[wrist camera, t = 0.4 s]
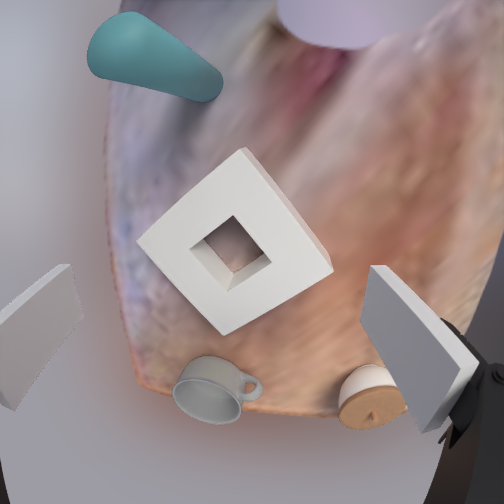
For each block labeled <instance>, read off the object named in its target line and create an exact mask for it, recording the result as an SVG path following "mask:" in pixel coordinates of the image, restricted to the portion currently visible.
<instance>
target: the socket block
mask: <svg viewBox="0 0 504 504" xmlns="http://www.w3.org/2000/svg"><path fill="white" fill-rule="evenodd" d="M232 215H234V216H235V218H236V219H237V220H238V221H239V223H240V224H241V225H242V226H243V227H244V229H245V230H246V231H247V232H248V233H249V235H250V236H251V237H252V238H253V240H254V241H255V242H256V243H257V244H258V246H259V247H260V248H261V249H262V251H263V252H264V254H263V255H261V256H260V257H258V258H257V259H255V260H254V261H252V262H251V263H249V264H248V265H246V266H245V267H244V268H242V269H241V270H239V271H238V272H236V273H235V274H233V273H232V271H231V270H230V269H229V268H228V267H227V266H226V265H225V263H224V262H223V261H222V260H221V259H220V258H219V257H218V255H217V254H216V253H215V252H214V251H213V250H212V248H211V247H210V246H209V245H208V244H207V243H206V241H205V240H204V239H203V238H204V237H205V236H207V235H208V234H209V233H211V232H212V231H213V230H214V229H216V228H217V227H218V226H219V225H221V224H222V223H223V222H225V221H226V220H227V219H229V218H230V217H231V216H232ZM136 242H137V243H138V244H139V246H140V247H141V248H142V249H143V250H144V251H145V253H146V254H147V255H148V256H149V257H150V258H151V260H152V261H153V262H154V263H155V264H156V265H157V266H158V268H159V269H160V270H161V271H162V272H163V273H164V274H165V275H166V276H167V278H168V279H169V280H170V281H171V282H172V283H173V284H174V285H175V286H176V287H177V288H178V290H179V291H180V292H181V293H182V294H183V295H184V296H185V297H186V298H187V299H188V300H189V301H190V302H191V303H192V304H193V306H194V307H195V308H196V309H197V310H198V311H199V312H200V313H201V314H202V315H203V316H204V317H205V318H206V319H207V320H208V321H209V322H210V323H211V324H212V325H213V326H214V327H215V328H216V329H217V330H218V331H219V332H220V333H221V334H222V335H223V336H225V335H227V334H228V333H230V332H232V331H234V330H236V329H238V328H239V327H241V326H243V325H245V324H247V323H248V322H250V321H252V320H254V319H255V318H257V317H259V316H261V315H262V314H264V313H266V312H268V311H269V310H271V309H273V308H275V307H276V306H278V305H280V304H281V303H283V302H285V301H287V300H288V299H290V298H292V297H293V296H295V295H297V294H298V293H300V292H302V291H303V290H305V289H307V288H308V287H310V286H311V285H313V284H315V283H316V282H318V281H320V280H321V279H323V278H324V277H326V276H328V275H329V274H331V273H332V272H334V271H333V267H332V264H331V260H330V257H329V254H328V253H327V251H326V250H325V249H324V247H323V246H322V244H321V243H320V242H319V240H318V239H317V237H316V236H315V235H314V233H313V232H312V231H311V229H310V228H309V226H308V225H307V224H306V222H305V221H304V220H303V218H302V217H301V216H300V214H299V213H298V212H297V210H296V209H295V208H294V206H293V205H292V204H291V202H290V201H289V200H288V199H287V197H286V196H285V195H284V193H283V192H282V191H281V189H280V188H279V187H278V186H277V184H276V183H275V182H274V180H273V179H272V178H271V177H270V175H269V174H268V173H267V172H266V170H265V169H264V168H263V167H262V165H261V164H260V163H259V162H258V160H257V159H256V158H255V157H254V155H253V154H252V153H251V152H250V151H249V149H248V148H247V147H244V148H241V149H239V150H238V151H236V152H235V153H234V154H233V155H231V156H230V157H229V158H228V159H226V160H225V161H224V162H223V163H222V164H220V165H219V166H218V167H217V168H216V169H214V170H213V171H212V172H211V173H210V174H208V175H207V176H206V177H205V178H204V179H203V180H201V181H200V182H199V183H198V184H197V185H196V186H195V187H193V188H192V189H191V190H190V191H189V192H188V193H187V194H186V195H184V196H183V197H182V198H181V199H180V200H179V201H178V202H177V203H176V204H174V205H173V206H172V207H171V208H170V209H169V210H168V211H167V212H166V213H165V214H164V215H163V216H161V217H160V218H159V219H158V220H157V221H156V222H155V223H154V224H153V225H152V226H151V227H150V228H149V229H148V230H147V231H146V232H145V233H144V234H143V235H142V236H141V237H140V238H139V239H138V240H137V241H136Z"/></svg>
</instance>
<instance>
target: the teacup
mask: <svg viewBox="0 0 504 504" xmlns="http://www.w3.org/2000/svg"><path fill="white" fill-rule="evenodd" d="M246 382H249V383H252V384H254V385H256V386H255V388H254V390H253V391H251V392H250V393H245V391H246ZM262 392H263V385H262V383H261V382H260V380H259V379H258V378H256V377H254V376H251V375H248V374H247V373H246V372H244V371H240V370H239V369H238V368H237V367H236V366H235V365H234V364H233V363H231V362H229V361H227V360H225V359H223V358H220V357H215V356H202V357H198V358H196V359H194V360H192V361H191V362H190V363H189V364H188V365H187V366H186V367H185V369H184V370H183V372H182V374H181V376H180V377H179V379H178V381H177V383H176V384H175V385H174V387H173V389H172V396H173V399H174V401H175V403H176V405H177V406H178V407H179V408H180V409H181V410H182V411H183V412H185V413H186V414H187V415H189V416H191V417H192V418H194V419H197V420H199V421H202V422H205V423H210V424H218V425H219V424H228V423H231V422H234V421H235V420H237V419H238V418H239V417H240V415H241V413H242V405H243V401H246V402H250V401H254V400H256V399H257V398H259V397H260V396H261V394H262Z"/></svg>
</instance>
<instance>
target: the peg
mask: <svg viewBox="0 0 504 504" xmlns="http://www.w3.org/2000/svg"><path fill="white" fill-rule="evenodd" d="M87 63H88V66H89V68H90V70H91V72H92V73H93V74H94V75H96V76H97V77H99V78H103V79H108V80H113V81H118V82H123V83H128V84H132V85H137V86H141V87H145V88H149V89H153V90H157V91H161V92H165V93H169V94H172V95H176V96H179V97H183V98H186V99H190V100H193V101H196V102H208V101H211V100H213V99H214V98H216V97H217V96H218V95H219V93H220V92H221V90H222V87H223V78H222V75H221V74H220V72H219V71H218V70H217V69H215V68H214V67H213V66H212V65H210V64H209V63H208V62H207V61H205V60H204V59H203V58H202V57H200V56H199V55H198V54H197V53H195V52H194V51H193V50H191V49H190V48H189V47H187V46H186V45H185V44H183V43H182V42H181V41H179V40H178V39H177V38H175V37H174V36H173V35H171V34H170V33H168V32H167V31H166V30H164V29H163V28H161V27H160V26H158V25H157V24H155V23H154V22H152V21H151V20H149V19H148V18H146V17H145V16H143V15H142V14H140V13H137V12H132V11H130V12H123V13H119V14H117V15H115V16H113V17H111V18H110V19H108V20H107V21H105V22H104V23H103V24H102V25H101V26H100V27H99V28H98V30H97V31H96V32H95V34H94V35H93V37H92V39H91V41H90V44H89V47H88V51H87Z"/></svg>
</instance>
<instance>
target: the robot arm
mask: <svg viewBox="0 0 504 504" xmlns="http://www.w3.org/2000/svg"><path fill="white" fill-rule="evenodd" d="M83 318H84V313H83V310H82V306H81V302H80V298H79V295H78V291H77V287H76V283H75V278H74V274H73V269H72V265H71V264H59V265H57V266H56V267H55V268H53V269H52V270H51V271H49V272H48V273H47V274H45V275H44V276H43V277H42V278H40V279H39V280H38V281H36V282H35V283H34V284H33V285H32V286H30V287H29V288H28V289H26V290H25V291H24V292H23V293H22V294H20V295H19V296H18V297H17V298H15V299H14V300H13V301H12V302H11V303H10V304H8V305H7V306H6V307H5V308H4V309H3V310H1V311H0V403H1V404H2V405H3V406H5V407H7V408H9V409H11V410H13V411H15V410H16V408H17V407H18V405H19V404H20V402H21V401H22V399H23V398H24V396H25V395H26V393H27V392H28V390H29V389H30V387H31V386H32V384H33V383H34V381H35V380H36V379H37V377H38V376H39V375H40V373H41V372H42V370H43V369H44V368H45V366H46V365H47V364H48V362H49V361H50V359H51V358H52V357H53V356H54V354H55V353H56V352H57V350H58V349H59V348H60V346H61V345H62V344H63V342H64V341H65V340H66V339H67V337H68V336H69V335H70V334H71V332H72V331H73V330H74V328H75V327H76V326H77V325H78V324H79V322H80V321H81V320H82V319H83ZM360 322H361V324H362V326H363V327H364V329H365V331H366V333H367V334H368V336H369V338H370V339H371V341H372V343H373V345H374V346H375V348H376V350H377V352H378V353H379V355H380V357H381V359H382V360H383V362H384V364H385V366H386V368H387V369H388V371H389V373H390V375H391V377H392V378H393V380H394V382H395V384H396V386H397V388H398V389H399V391H400V393H401V395H402V397H403V399H404V401H405V403H406V405H407V407H408V408H409V410H410V412H411V414H412V416H413V418H414V420H415V422H416V424H417V426H418V428H419V430H420V432H421V434H422V433H425V432H428V431H431V430H434V429H437V428H439V427H441V425H442V424H443V422H444V421H445V419H446V418H447V417H448V415H449V417H450V418H451V420H452V423H451V425H450V426H449V427H448V429H447V430H446V432H445V433H444V434H443V435H442V437H441V438H440V440H439V442H438V443H439V444H441V442H442V441H443V440H444V439H445V438H446V440H445V443H444V447H443V450H442V454H441V457H440V460H439V463H438V466H437V469H436V472H435V475H434V478H433V481H432V483H431V486H430V489H429V491H428V494H427V496H426V499H425V501H424V503H423V504H504V365H503V364H499V363H494V364H490V365H489V364H488V363H487V362H486V361H485V360H484V358H483V357H482V356H481V355H480V354H479V353H478V352H477V351H476V349H475V348H474V347H473V346H472V345H471V344H470V343H469V342H467V339H466V338H465V337H464V336H463V335H460V332H459V331H458V330H457V329H456V328H455V327H454V326H453V325H452V324H451V323H449V322H447V321H446V320H444V319H442V318H439V317H438V316H437V315H436V314H435V313H434V312H433V311H432V310H431V309H430V308H429V307H428V306H427V305H426V304H425V303H424V302H423V301H422V300H421V299H420V298H419V297H418V296H417V295H416V294H415V293H414V292H413V291H412V290H411V289H410V288H409V287H408V286H407V285H406V284H405V283H404V282H403V281H402V280H401V279H400V278H399V277H398V276H397V275H396V274H395V273H394V272H392V271H391V270H390V269H389V268H388V267H387V266H386V265H370V270H369V276H368V282H367V287H366V293H365V298H364V303H363V307H362V312H361V317H360ZM0 504H10V501H9V498H8V494H7V490H6V486H5V481H4V477H3V472H2V466H1V462H0Z"/></svg>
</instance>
